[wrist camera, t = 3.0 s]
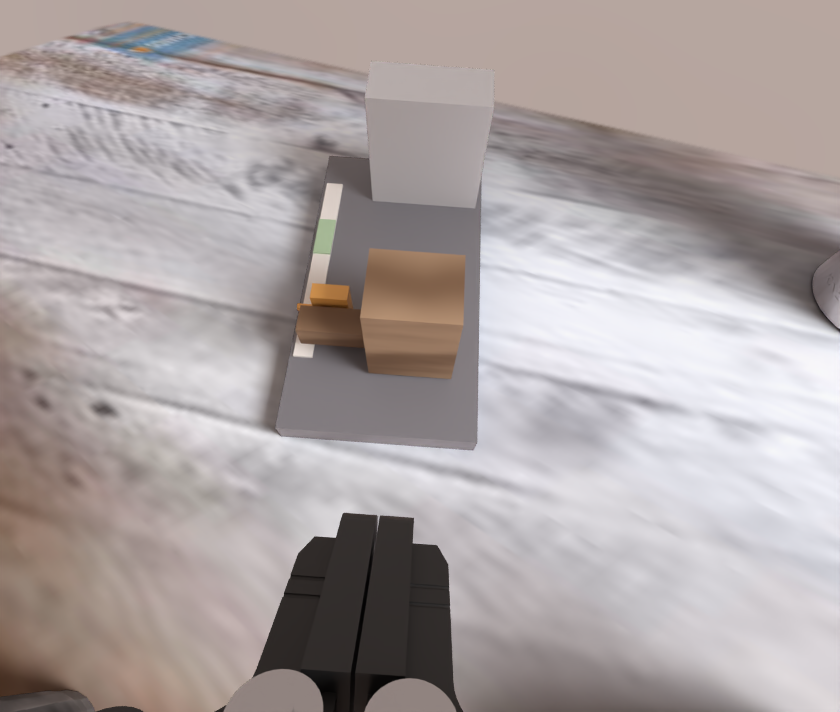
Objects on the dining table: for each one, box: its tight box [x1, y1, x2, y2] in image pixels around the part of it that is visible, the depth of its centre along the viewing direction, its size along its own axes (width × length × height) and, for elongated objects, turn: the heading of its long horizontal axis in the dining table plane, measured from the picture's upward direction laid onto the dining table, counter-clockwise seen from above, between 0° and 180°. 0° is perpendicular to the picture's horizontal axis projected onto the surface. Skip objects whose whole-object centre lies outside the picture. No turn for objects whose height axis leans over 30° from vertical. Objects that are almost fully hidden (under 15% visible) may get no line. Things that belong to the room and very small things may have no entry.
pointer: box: [297, 283, 353, 311], centre depth 36 cm, size 1×4×4 cm, turn 86°
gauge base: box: [275, 61, 494, 450], centre depth 36 cm, size 26×14×12 cm, turn 176°
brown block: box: [296, 248, 466, 379], centre depth 33 cm, size 5×11×8 cm, turn 86°
